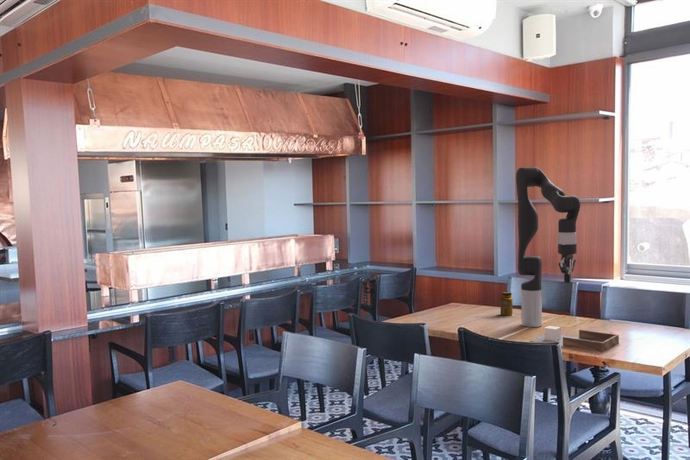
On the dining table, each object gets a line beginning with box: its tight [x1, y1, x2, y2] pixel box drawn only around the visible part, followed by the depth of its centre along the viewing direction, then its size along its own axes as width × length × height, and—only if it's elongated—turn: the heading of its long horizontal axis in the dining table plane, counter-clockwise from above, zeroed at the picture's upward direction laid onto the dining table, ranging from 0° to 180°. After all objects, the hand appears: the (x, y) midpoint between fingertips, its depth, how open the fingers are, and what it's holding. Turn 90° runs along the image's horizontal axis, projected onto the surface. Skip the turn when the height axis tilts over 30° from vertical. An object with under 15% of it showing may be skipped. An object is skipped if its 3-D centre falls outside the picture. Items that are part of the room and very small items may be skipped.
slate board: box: [529, 334, 619, 353], centre depth 243 cm, size 18×30×1 cm, turn 47°
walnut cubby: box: [562, 329, 620, 353], centre depth 238 cm, size 18×16×4 cm
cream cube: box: [543, 325, 562, 341], centre depth 248 cm, size 5×5×5 cm
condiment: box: [494, 291, 515, 318], centre depth 305 cm, size 7×8×12 cm
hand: (567, 282), depth 252 cm, fingers closed
